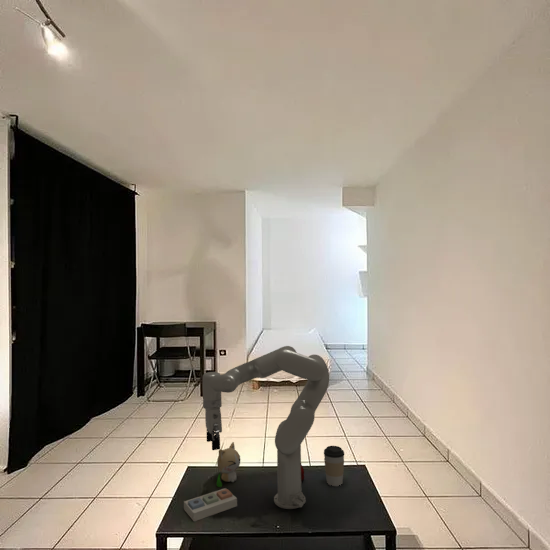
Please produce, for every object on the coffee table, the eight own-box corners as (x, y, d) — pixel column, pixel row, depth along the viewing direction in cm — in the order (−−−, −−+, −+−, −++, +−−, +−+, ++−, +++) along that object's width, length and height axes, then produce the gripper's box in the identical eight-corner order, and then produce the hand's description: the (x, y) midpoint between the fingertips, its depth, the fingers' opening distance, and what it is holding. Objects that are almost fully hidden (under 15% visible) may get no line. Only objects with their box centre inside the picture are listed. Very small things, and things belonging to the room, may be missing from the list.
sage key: (218, 504, 156) (218, 497, 156) (207, 508, 153) (207, 501, 153) (213, 499, 160) (213, 492, 160) (202, 502, 157) (202, 496, 157)
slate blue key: (204, 509, 152) (204, 502, 153) (192, 513, 150) (192, 506, 150) (199, 503, 156) (199, 497, 156) (188, 507, 154) (188, 501, 154)
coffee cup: (332, 475, 182) (331, 442, 182) (349, 482, 175) (348, 447, 176) (320, 482, 175) (319, 447, 176) (337, 489, 169) (336, 453, 169)
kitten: (226, 490, 170) (226, 454, 170) (208, 484, 175) (208, 450, 175) (247, 476, 182) (246, 442, 183) (229, 471, 188) (229, 438, 188)
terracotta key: (232, 499, 159) (232, 493, 159) (221, 503, 157) (221, 496, 157) (226, 494, 163) (226, 488, 163) (216, 498, 160) (216, 491, 161)
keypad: (237, 506, 157) (237, 498, 157) (193, 521, 147) (193, 513, 147) (225, 495, 166) (225, 488, 166) (183, 509, 156) (183, 501, 156)
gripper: (226, 407, 158) (227, 451, 158) (216, 396, 174) (217, 436, 174) (207, 410, 155) (208, 454, 155) (199, 399, 171) (199, 439, 171)
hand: (213, 445), depth 164 cm, fingers open, 9 cm apart
